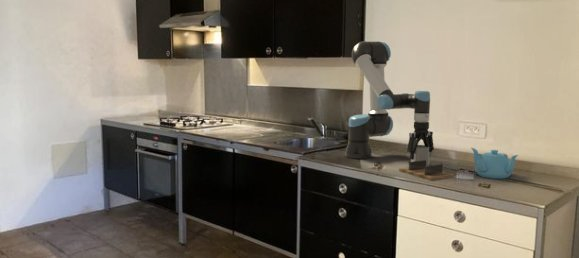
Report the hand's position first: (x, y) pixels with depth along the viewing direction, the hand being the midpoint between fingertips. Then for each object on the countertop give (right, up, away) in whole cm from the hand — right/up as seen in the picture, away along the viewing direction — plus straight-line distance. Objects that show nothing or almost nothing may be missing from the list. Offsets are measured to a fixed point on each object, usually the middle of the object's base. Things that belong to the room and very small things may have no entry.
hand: (420, 164), depth 253 cm
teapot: (+27, -4, -23) cm, 36 cm away
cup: (0, -1, 0) cm, 1 cm away
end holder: (-3, -3, -19) cm, 19 cm away
